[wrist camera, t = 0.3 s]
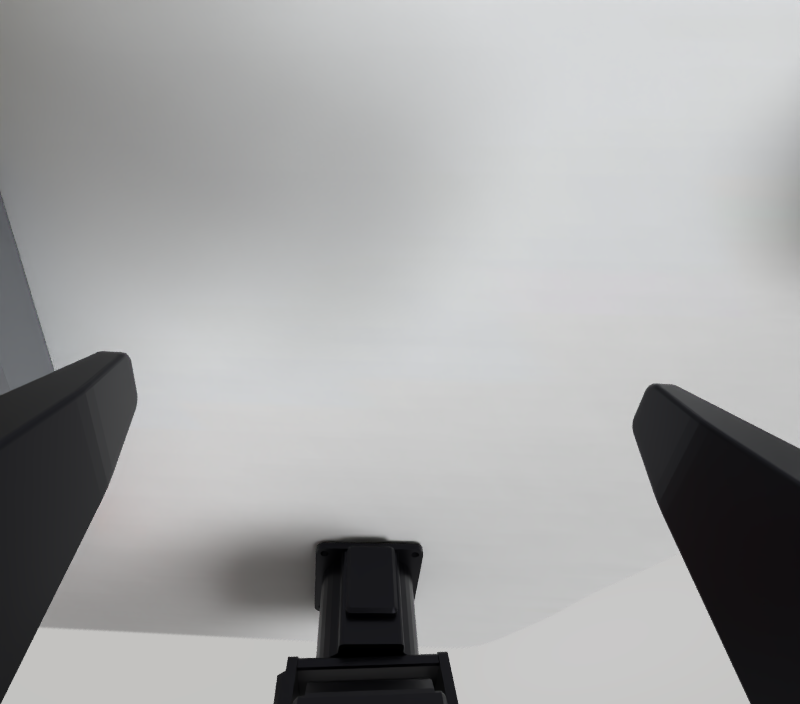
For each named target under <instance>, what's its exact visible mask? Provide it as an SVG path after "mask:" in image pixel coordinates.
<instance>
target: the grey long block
mask: <svg viewBox="0 0 800 704" xmlns="http://www.w3.org/2000/svg"><path fill="white" fill-rule="evenodd" d="M52 372H54V369H53V365H52V362H51V359H50V356H49V352H48V349H47V346H46V342H45V339H44V336H43V332H42V329H41V326H40V322H39V319H38V316H37V313H36V309H35V306H34V303H33V299H32V296H31V293H30V289H29V286H28V283H27V279H26V276H25V273H24V270H23V266H22V263H21V260H20V256H19V253H18V250H17V246H16V243H15V240H14V237H13V233H12V230H11V227H10V223H9V220H8V217H7V213H6V210H5V207H4V203H3V200H2V197H1V194H0V395H2V394H4V393H6V392H9V391H11V390H13V389H15V388H18V387H20V386H22V385H25V384H27V383H29V382H31V381H34V380H36V379H38V378H40V377H43V376H45V375H47V374H50V373H52Z"/></svg>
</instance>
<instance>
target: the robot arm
mask: <svg viewBox="0 0 800 704" xmlns="http://www.w3.org/2000/svg"><path fill="white" fill-rule="evenodd" d="M136 406H137V390H136V385H135V379H134V374H133V368H132V363H131V360H130V357H129V356H128V355H127V354H126V353H123V352H108V351H101V352H97V353H95V354H93V355H90V356H88V357H86V358H84V359H81V360H79V361H77V362H75V363H72V364H70V365H68V366H65V367H63V368H61V369H59V370H56V371H54V372H52V373H50V374H47V375H45V376H43V377H40V378H38V379H36V380H34V381H31V382H29V383H27V384H25V385H22V386H20V387H18V388H15V389H13V390H11V391H9V392H6V393H4V394H2V395H0V704H1V702H2V700H3V698H4V696H5V694H6V692H7V690H8V688H9V686H10V684H11V682H12V680H13V678H14V676H15V674H16V672H17V670H18V668H19V666H20V664H21V662H22V660H23V658H24V656H25V654H26V652H27V650H28V648H29V646H30V643H31V642H32V640H33V638H34V635H35V634H36V632H37V630H38V628H39V626H40V624H41V622H42V620H43V617H44V615H45V613H46V611H47V609H48V607H49V605H50V603H51V601H52V599H53V597H54V595H55V593H56V591H57V589H58V587H59V585H60V583H61V581H62V579H63V577H64V575H65V573H66V571H67V569H68V567H69V565H70V563H71V561H72V559H73V557H74V555H75V553H76V551H77V549H78V547H79V545H80V543H81V541H82V539H83V537H84V535H85V533H86V531H87V529H88V527H89V525H90V523H91V521H92V519H93V517H94V515H95V513H96V511H97V509H98V507H99V505H100V503H101V501H102V499H103V496H104V494H105V492H106V490H107V488H108V485H109V483H110V480H111V478H112V475H113V472H114V470H115V467H116V464H117V461H118V458H119V455H120V452H121V450H122V447H123V444H124V441H125V438H126V435H127V432H128V430H129V427H130V424H131V421H132V418H133V415H134V412H135V410H136ZM633 433H634V436H635V439H636V442H637V445H638V448H639V451H640V454H641V457H642V460H643V463H644V466H645V469H646V471H647V474H648V477H649V480H650V483H651V486H652V489H653V492H654V495H655V497H656V500H657V503H658V505H659V507H660V510H661V512H662V514H663V517H664V519H665V521H666V523H667V525H668V527H669V530H670V532H671V534H672V536H673V538H674V540H675V542H676V545H677V547H678V549H679V551H680V553H681V555H682V557H683V559H684V562H685V564H686V566H687V568H688V570H689V572H690V575H691V577H692V579H693V581H694V583H695V585H696V588H697V590H698V592H699V594H700V596H701V598H702V600H703V603H704V605H705V607H706V609H707V611H708V613H709V615H710V618H711V620H712V622H713V624H714V626H715V628H716V631H717V633H718V635H719V637H720V639H721V641H722V643H723V646H724V648H725V650H726V652H727V654H728V656H729V658H730V661H731V663H732V665H733V667H734V669H735V671H736V674H737V676H738V678H739V680H740V682H741V684H742V686H743V689H744V691H745V693H746V695H747V697H748V699H749V701H750V704H800V449H799V448H797V447H795V446H793V445H791V444H789V443H787V442H786V441H784V440H782V439H780V438H778V437H776V436H774V435H772V434H770V433H768V432H766V431H764V430H762V429H760V428H758V427H756V426H754V425H752V424H750V423H748V422H746V421H744V420H742V419H741V418H739V417H737V416H735V415H733V414H731V413H729V412H727V411H725V410H723V409H721V408H719V407H717V406H715V405H713V404H711V403H709V402H707V401H705V400H703V399H701V398H699V397H697V396H695V395H694V394H692V393H690V392H688V391H686V390H684V389H682V388H680V387H678V386H676V385H672V384H652V385H650V386H649V387H648V388H647V389H646V391H645V393H644V395H643V398H642V400H641V402H640V405H639V407H638V409H637V412H636V414H635V416H634V419H633ZM422 558H423V549H422V546H421V545H418V544H381V543H321V544H319V545H318V546H317V550H316V580H315V609H316V610H318V611H320V614H319V628H318V642H317V656H316V658H298V657H288V661H287V667H286V671H285V672H283V673H281V674H279V675H278V676H277V683H276V690H275V698H274V704H458V700H457V695H456V690H455V686H454V681H453V676H452V672H451V667H450V662H449V657H448V653H447V652H437V654H421V655H419V654H418V643H417V631H416V620H415V608H414V599H415V594H416V589H417V584H418V579H419V574H420V568H421V563H422Z"/></svg>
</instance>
